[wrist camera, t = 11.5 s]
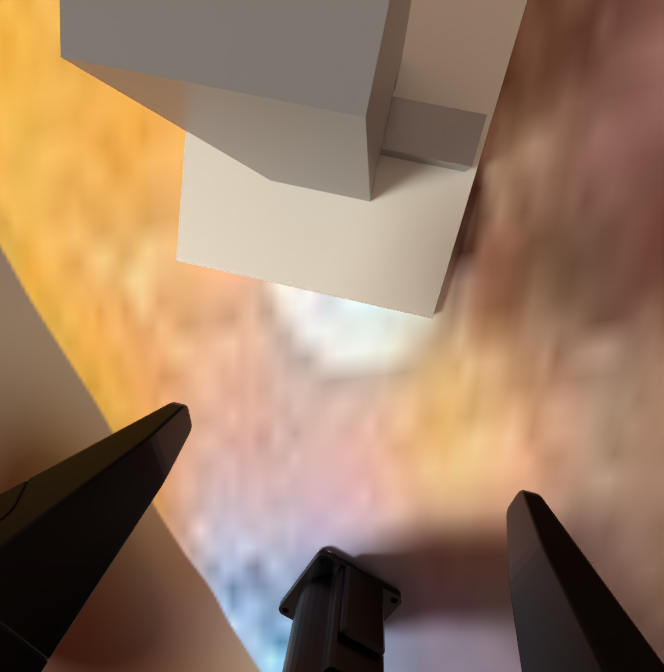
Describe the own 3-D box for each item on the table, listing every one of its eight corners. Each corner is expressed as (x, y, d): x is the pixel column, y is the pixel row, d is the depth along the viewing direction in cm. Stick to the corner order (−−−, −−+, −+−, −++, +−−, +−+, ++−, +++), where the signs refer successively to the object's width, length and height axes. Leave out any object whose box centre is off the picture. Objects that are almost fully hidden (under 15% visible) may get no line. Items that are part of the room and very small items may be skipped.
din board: (430, 315, 19) (432, 318, 18) (182, 260, 19) (176, 260, 19) (542, -61, 14) (549, -74, 13) (211, -116, 15) (205, -131, 14)
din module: (370, 201, 17) (365, 117, 5) (270, 180, 17) (60, 57, 6) (403, 52, 15) (504, -558, 4) (292, 31, 15) (49, -605, 4)
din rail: (464, 171, 16) (471, 166, 15) (197, 117, 17) (184, 108, 16) (478, 123, 15) (487, 114, 14) (200, 69, 16) (187, 56, 15)
